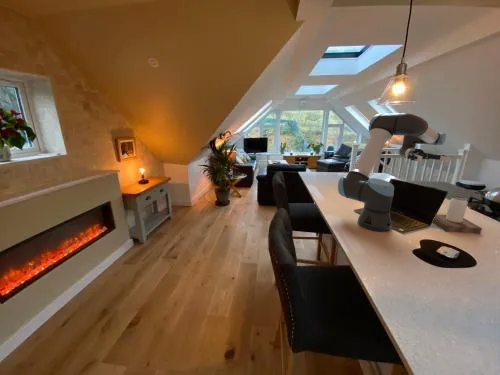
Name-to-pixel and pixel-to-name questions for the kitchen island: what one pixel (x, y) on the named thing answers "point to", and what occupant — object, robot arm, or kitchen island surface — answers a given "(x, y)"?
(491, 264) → the kitchen island surface
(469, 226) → the walnut board
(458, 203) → the can
